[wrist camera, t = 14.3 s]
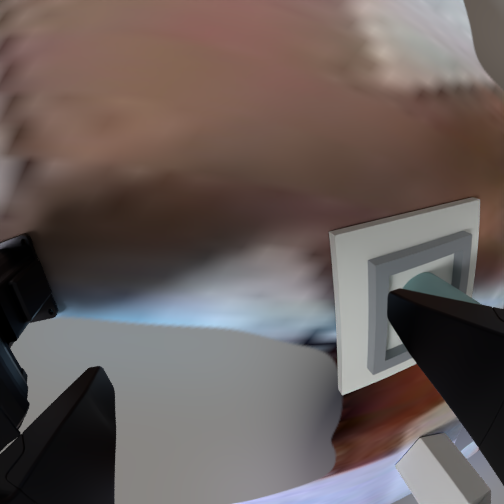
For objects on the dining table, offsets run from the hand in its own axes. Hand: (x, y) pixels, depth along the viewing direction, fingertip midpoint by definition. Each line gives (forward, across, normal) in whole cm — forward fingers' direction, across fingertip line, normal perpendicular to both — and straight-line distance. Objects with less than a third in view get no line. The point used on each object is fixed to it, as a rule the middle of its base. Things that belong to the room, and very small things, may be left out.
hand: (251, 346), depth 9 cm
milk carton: (+13, -23, +42) cm, 50 cm away
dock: (+13, -16, +10) cm, 23 cm away
